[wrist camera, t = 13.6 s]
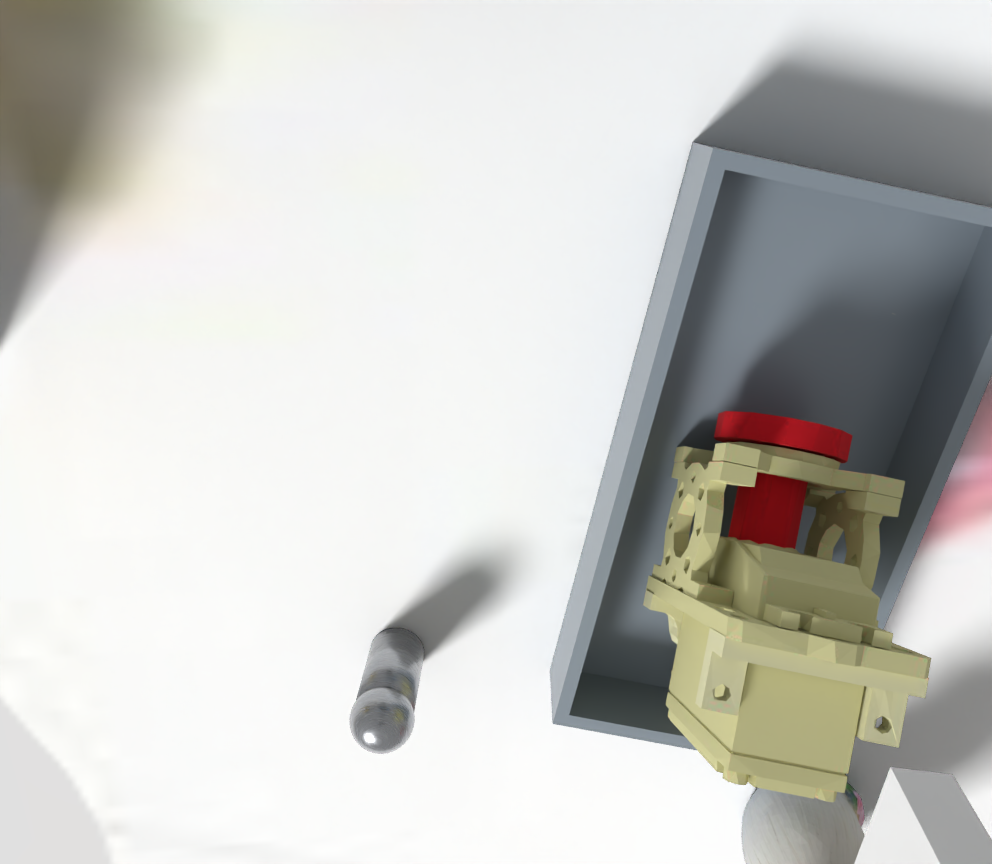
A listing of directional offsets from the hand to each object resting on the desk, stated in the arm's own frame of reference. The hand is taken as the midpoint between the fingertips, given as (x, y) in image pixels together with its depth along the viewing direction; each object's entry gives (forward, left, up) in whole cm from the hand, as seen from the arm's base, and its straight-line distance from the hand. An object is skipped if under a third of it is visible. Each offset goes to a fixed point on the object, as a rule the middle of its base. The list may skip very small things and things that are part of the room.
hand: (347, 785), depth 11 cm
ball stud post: (+22, 0, -33) cm, 39 cm away
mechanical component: (+8, +15, -33) cm, 37 cm away
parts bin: (+7, +16, -33) cm, 37 cm away
